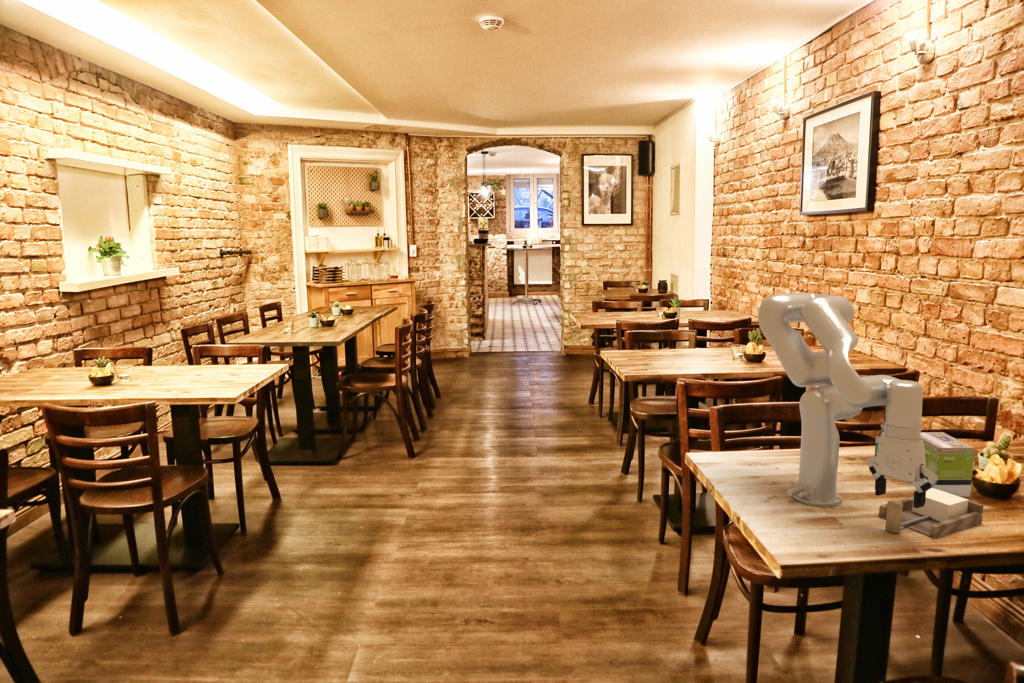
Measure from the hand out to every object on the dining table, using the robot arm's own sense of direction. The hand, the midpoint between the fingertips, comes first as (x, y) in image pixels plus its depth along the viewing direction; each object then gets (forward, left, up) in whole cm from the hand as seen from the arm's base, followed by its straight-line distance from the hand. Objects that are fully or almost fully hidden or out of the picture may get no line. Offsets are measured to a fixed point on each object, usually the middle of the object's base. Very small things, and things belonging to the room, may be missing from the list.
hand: (899, 500), depth 161 cm
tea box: (+39, +14, -9) cm, 42 cm away
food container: (+46, +34, -9) cm, 58 cm away
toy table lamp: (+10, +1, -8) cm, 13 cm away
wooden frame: (+14, +1, -8) cm, 16 cm away
